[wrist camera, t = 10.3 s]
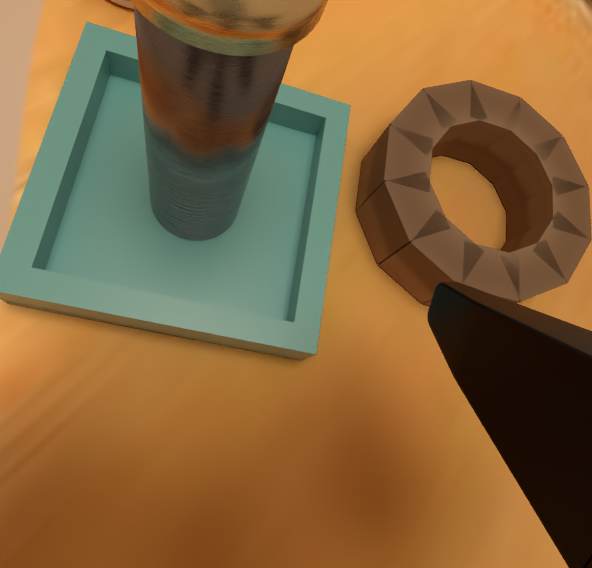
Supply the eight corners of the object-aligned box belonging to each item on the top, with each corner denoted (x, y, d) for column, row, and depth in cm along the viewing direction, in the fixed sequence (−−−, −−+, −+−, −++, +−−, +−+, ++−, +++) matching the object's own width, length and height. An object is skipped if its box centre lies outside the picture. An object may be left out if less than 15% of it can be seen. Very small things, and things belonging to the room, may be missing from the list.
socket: (541, 331, 22) (595, 320, 20) (346, 286, 20) (375, 266, 17) (539, 152, 25) (585, 120, 23) (369, 97, 23) (397, 54, 20)
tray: (301, 360, 19) (316, 354, 17) (7, 303, 17) (-13, 289, 15) (335, 131, 22) (350, 105, 20) (94, 57, 20) (86, 21, 18)
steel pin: (256, 241, 19) (381, -10, 8) (149, 255, 18) (117, -20, 7) (236, 150, 20) (322, -192, 9) (133, 157, 19) (80, -233, 7)
